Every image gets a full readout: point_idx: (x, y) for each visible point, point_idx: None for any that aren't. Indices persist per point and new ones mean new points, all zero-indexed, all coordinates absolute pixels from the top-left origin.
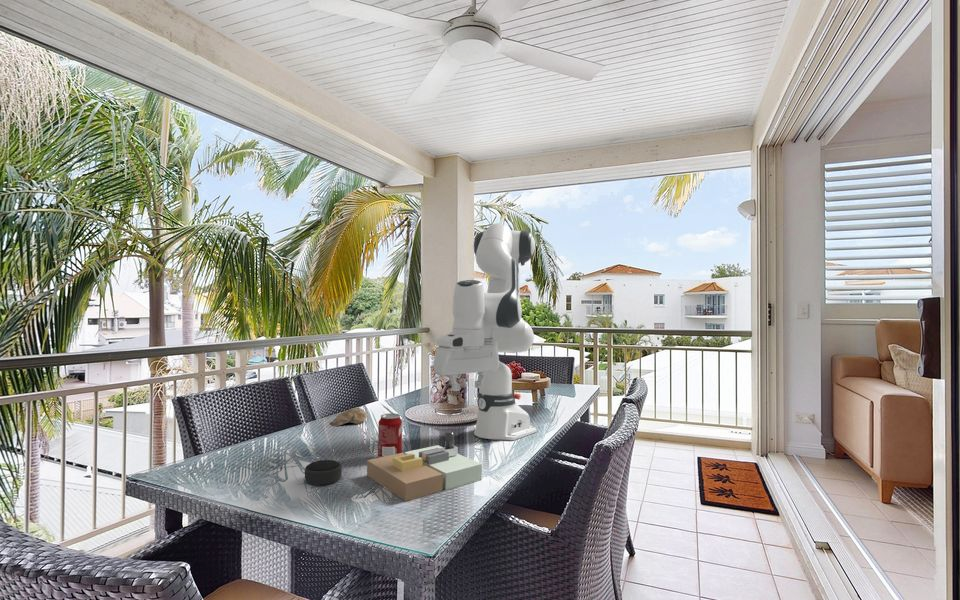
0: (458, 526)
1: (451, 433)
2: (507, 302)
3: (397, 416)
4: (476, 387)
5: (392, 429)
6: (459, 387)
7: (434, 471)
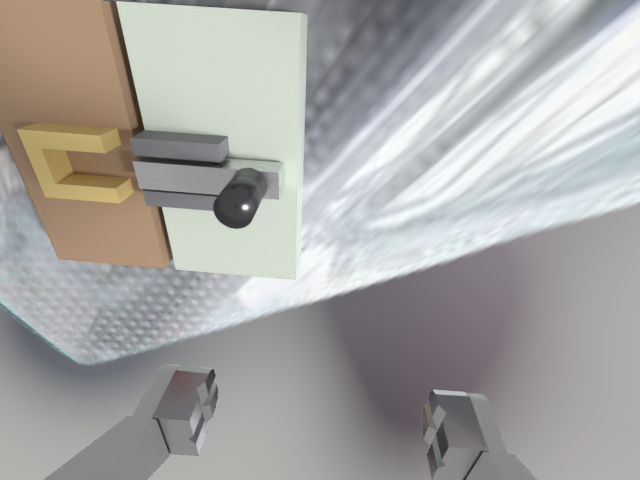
0: (146, 348)
1: (232, 225)
2: None
3: None
4: (429, 401)
5: None
6: (204, 424)
7: (152, 243)
